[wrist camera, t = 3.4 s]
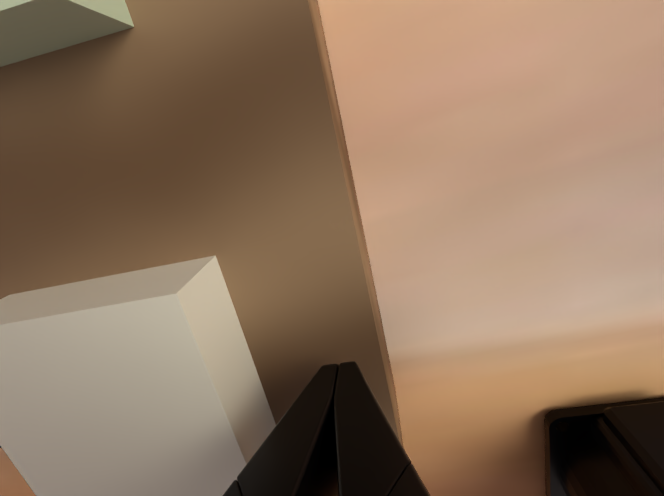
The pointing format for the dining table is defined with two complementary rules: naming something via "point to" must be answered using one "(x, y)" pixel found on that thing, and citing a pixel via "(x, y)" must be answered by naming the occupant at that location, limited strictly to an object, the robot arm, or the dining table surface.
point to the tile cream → (130, 385)
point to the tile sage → (56, 25)
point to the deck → (199, 178)
